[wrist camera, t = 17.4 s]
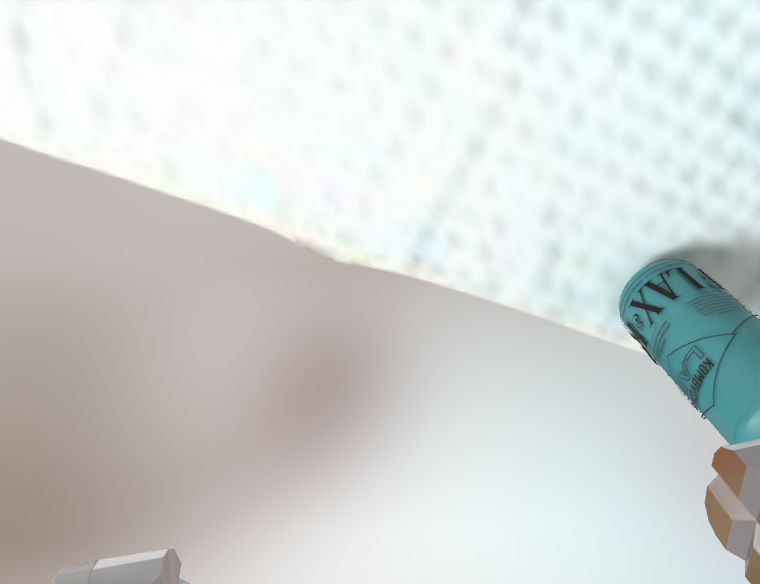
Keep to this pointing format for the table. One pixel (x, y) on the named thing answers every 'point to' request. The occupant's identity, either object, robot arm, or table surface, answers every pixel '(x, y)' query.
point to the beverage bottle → (699, 342)
